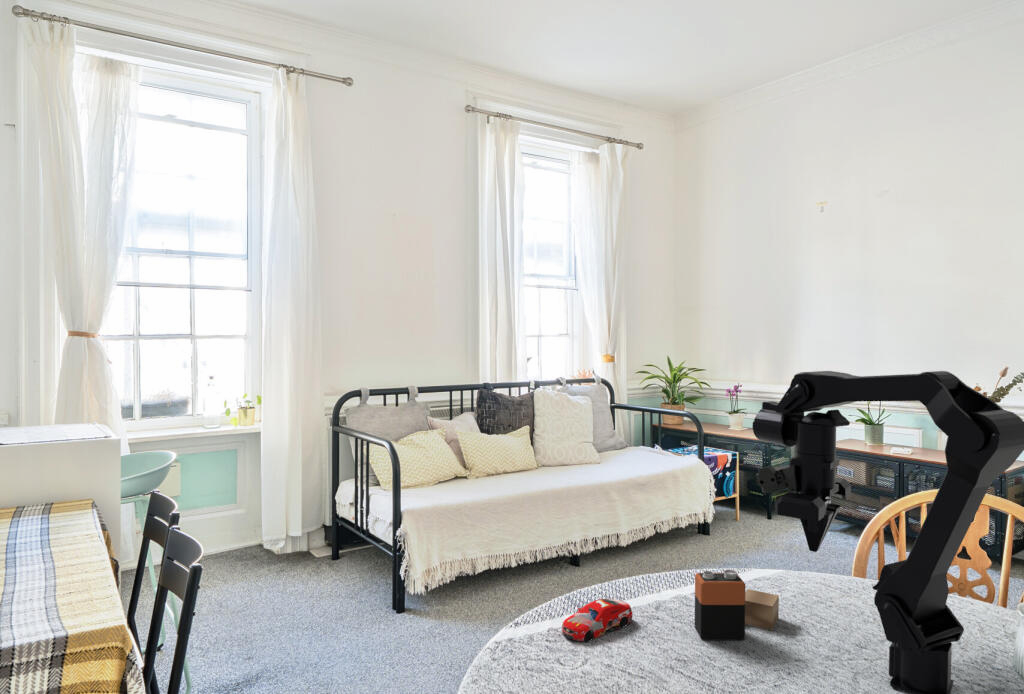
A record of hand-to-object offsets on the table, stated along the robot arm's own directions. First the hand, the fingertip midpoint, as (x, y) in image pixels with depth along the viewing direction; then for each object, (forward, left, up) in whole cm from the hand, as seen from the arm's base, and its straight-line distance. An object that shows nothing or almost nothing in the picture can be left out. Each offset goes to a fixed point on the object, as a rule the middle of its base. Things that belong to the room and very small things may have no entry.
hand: (813, 550), depth 107 cm
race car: (+27, +20, -14) cm, 36 cm away
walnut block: (+8, +1, -13) cm, 15 cm away
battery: (+11, +10, -13) cm, 20 cm away
